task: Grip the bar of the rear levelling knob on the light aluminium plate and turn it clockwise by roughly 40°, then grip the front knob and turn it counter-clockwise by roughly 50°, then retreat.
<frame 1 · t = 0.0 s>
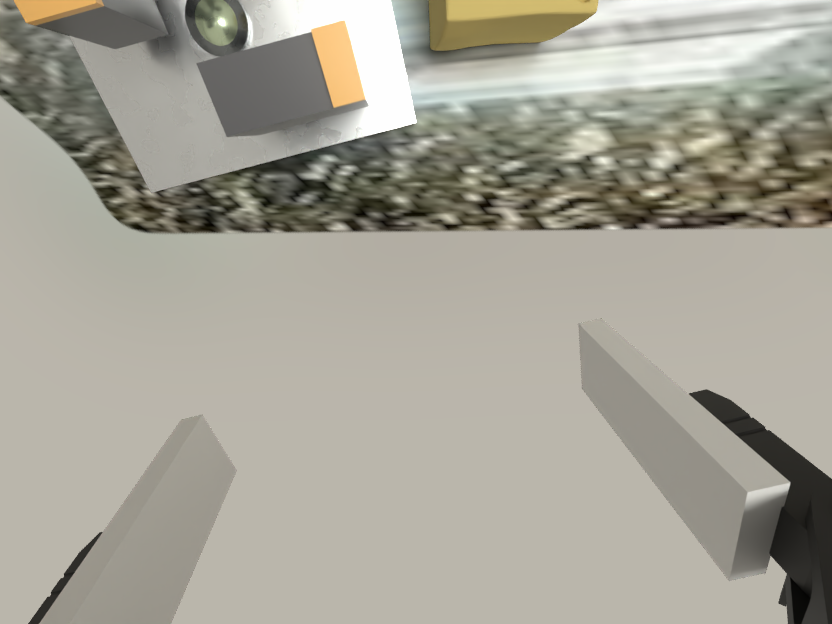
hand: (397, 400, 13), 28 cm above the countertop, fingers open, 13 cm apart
knob b: (298, 89, 27), point 7 cm above the countertop, hinge at 0.0°
level plate: (240, 26, 31), on the countertop
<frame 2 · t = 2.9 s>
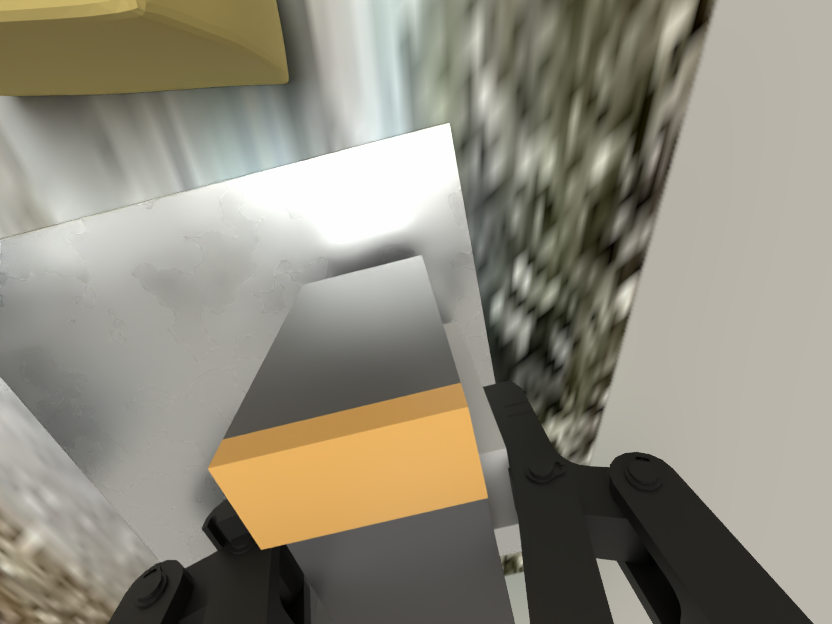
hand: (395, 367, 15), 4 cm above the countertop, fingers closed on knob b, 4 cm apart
knob b: (399, 427, 12), point 7 cm above the countertop, hinge at 0.0°, touching gripper
level plate: (303, 417, 20), on the countertop
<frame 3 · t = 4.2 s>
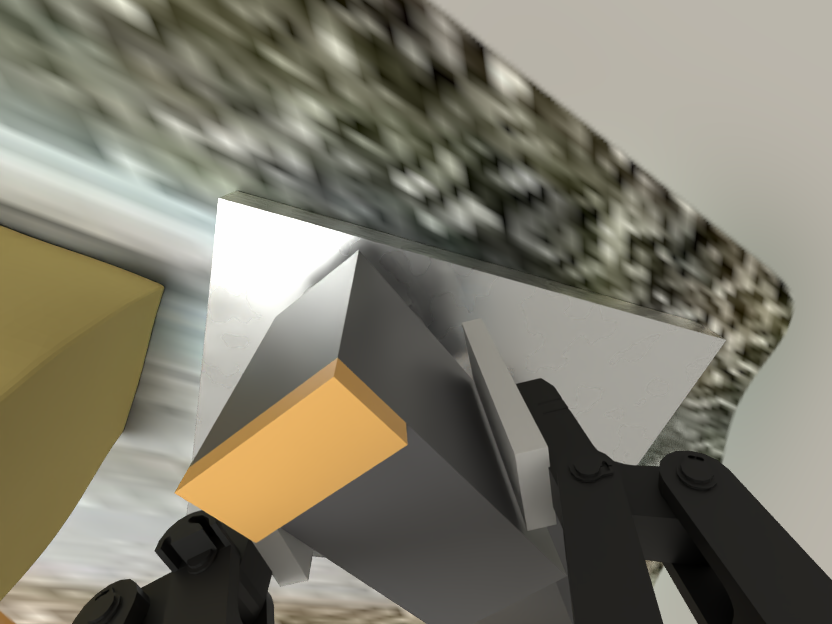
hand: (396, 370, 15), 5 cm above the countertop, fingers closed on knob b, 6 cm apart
knob b: (398, 407, 13), point 7 cm above the countertop, hinge at -35.2°, touching gripper
level plate: (431, 422, 23), on the countertop
cheese: (43, 326, 19), on the countertop
knob a: (538, 606, 19), point 7 cm above the countertop, hinge at 0.0°
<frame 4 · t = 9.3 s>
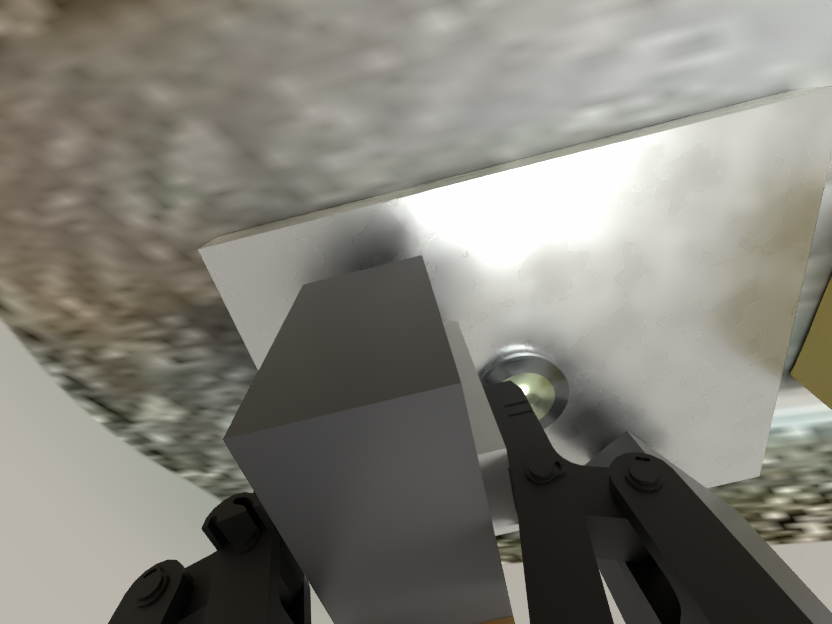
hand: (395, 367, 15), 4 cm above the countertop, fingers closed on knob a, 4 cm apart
knob b: (689, 550, 16), point 7 cm above the countertop, hinge at -51.7°
level plate: (525, 364, 20), on the countertop
knob a: (399, 427, 12), point 7 cm above the countertop, hinge at 0.0°, touching gripper
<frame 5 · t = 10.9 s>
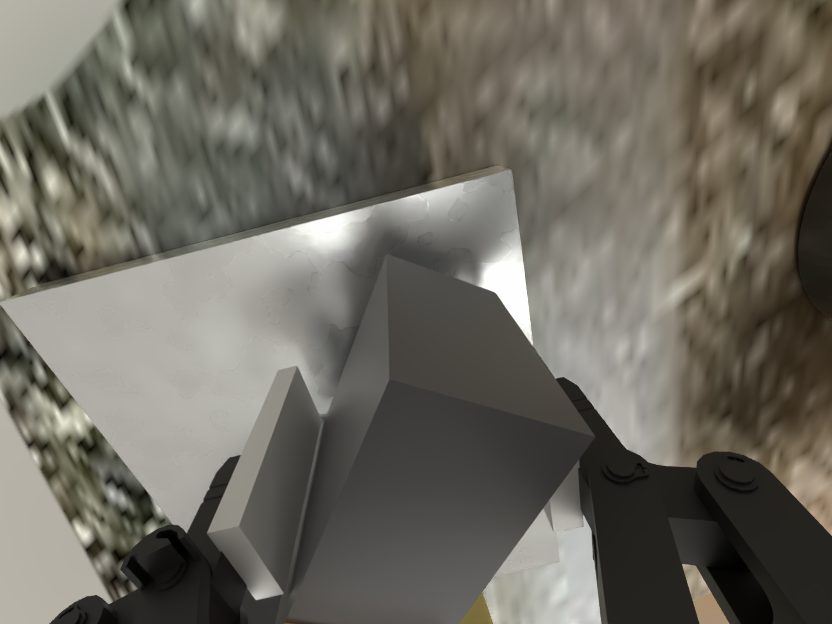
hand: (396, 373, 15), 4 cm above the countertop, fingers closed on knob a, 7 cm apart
level plate: (351, 436, 21), on the countertop
knob a: (398, 426, 12), point 7 cm above the countertop, hinge at 55.1°, touching gripper
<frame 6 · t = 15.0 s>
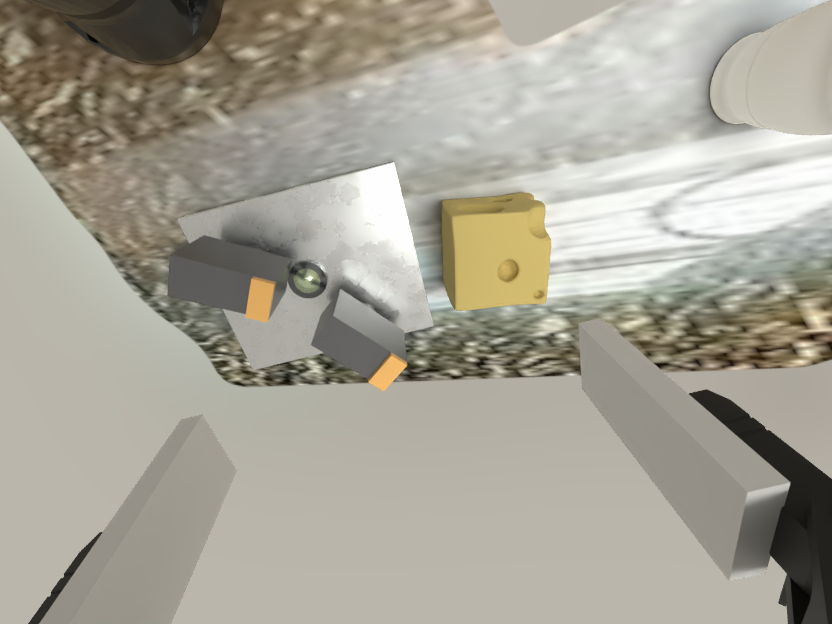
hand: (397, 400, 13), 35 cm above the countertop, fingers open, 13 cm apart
knob b: (361, 332, 43), point 7 cm above the countertop, hinge at -51.7°
level plate: (318, 271, 47), on the countertop
cheese: (479, 238, 47), on the countertop
knob a: (238, 272, 39), point 7 cm above the countertop, hinge at 58.8°
jar: (744, 80, 42), on the countertop
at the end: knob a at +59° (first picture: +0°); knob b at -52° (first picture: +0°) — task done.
